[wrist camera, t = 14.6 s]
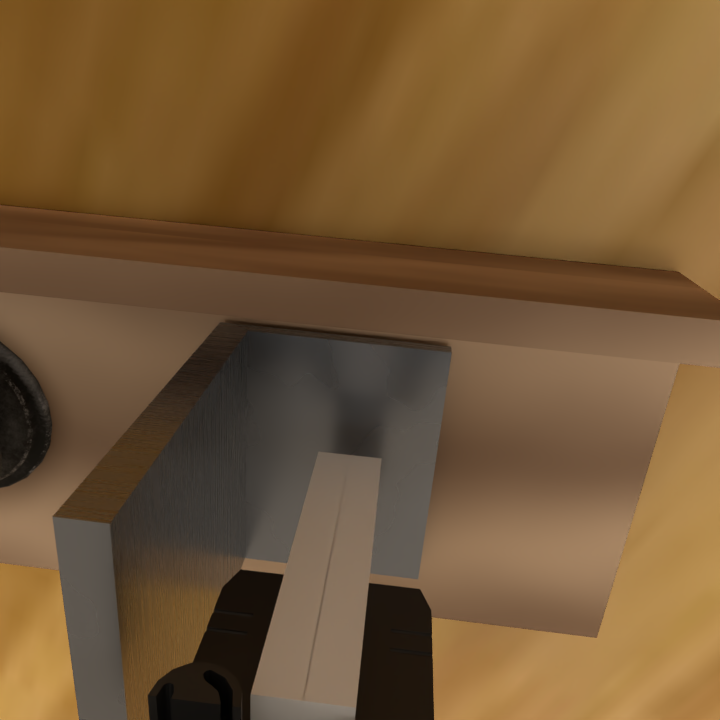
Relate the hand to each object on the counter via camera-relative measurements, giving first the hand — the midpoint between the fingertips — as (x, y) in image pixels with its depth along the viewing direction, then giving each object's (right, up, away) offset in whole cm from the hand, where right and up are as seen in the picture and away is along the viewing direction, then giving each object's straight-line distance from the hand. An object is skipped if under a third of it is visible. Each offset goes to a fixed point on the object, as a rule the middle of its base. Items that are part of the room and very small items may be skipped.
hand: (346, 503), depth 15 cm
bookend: (-1, +1, +2) cm, 2 cm away
